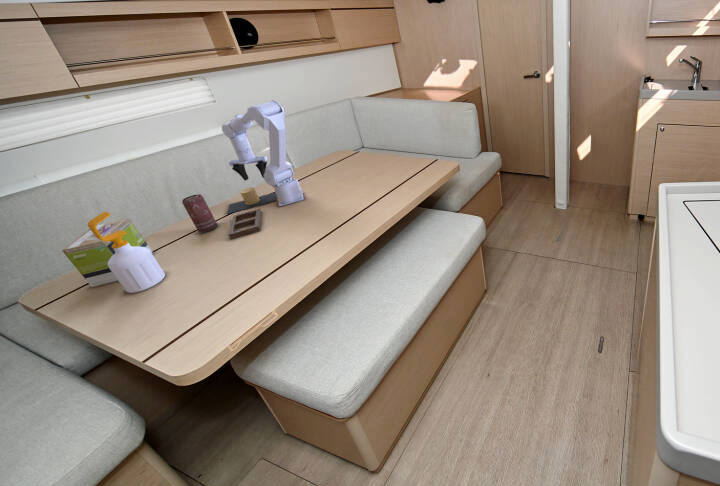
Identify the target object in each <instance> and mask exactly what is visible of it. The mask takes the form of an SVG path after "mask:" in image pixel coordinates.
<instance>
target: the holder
mask: <svg viewBox="0 0 720 486" xmlns="http://www.w3.org/2000/svg"><path fill="white" fill-rule="evenodd" d="M262 213H263V212H262V210H261V208H260V207H259V208H256V209H251V210H249V211H245V212H241V213H238V214H234V215H232V219H231V221H230V222H231V224H230V227H229V231H228V237H229V240H233V239H237V238H240V237H243V236H247V235H250V234H253V233H256V232H260V231H261V221H262ZM247 218H248V219H247ZM251 225H253V226H251ZM248 226H249V227H248ZM244 227H246V228H244ZM240 228H242V229H240ZM237 229H240V230H237Z"/></svg>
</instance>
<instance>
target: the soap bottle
mask: <svg viewBox="0 0 720 486" xmlns="http://www.w3.org/2000/svg"><path fill="white" fill-rule="evenodd" d="M110 216H112V213H110V212H107V211H103V212H101V213H100V214H98V215H96V216H95V217H93V218H92V219H90V220H89V221H88V222H87V227H88V228H89V229H90V230H91V231H92V232H93V234H94V235H95V237H96V238H98V239H100V240H102V241H105V242H108V241H110V242H114V243H115V244H114V245H112V247H113V249H114V251H115V254H114V255H113V256H112V257H111V258H110V259H109V261H108V267H109V268H110V270H111V271H112V272H113V274H114V275H115V277H116V278H117V279H118V281H117V282H119V283H120V285H121V286H122V288H123V289H124V291H125V292H126V293H130V294H133V293H134V294H135V293H138V292H142V291H145V290H147V289H150V288H152V287H155V286H156V285H157V284H159V283H160V282H161V281H163V280H164V278H165V276H166V273H165V271H164V269H163V268H162V266H160V264H159V262H158V260H156V258H155V256H154V255H153V253H151V252H150V250H149V249H148V248H146V247H139V246H135V247H132V246H130V244H129V243H128V241H127V240H124V241H122V239H121V238H123V235H125V234H127V232H125V231H123V230H120V231H117V232H115V233H112V234H110V235H108V236H105V237H102V236H101V235H100V233H99V232H98V230H97V229H96V226H97V225H99V224H100V223H102V222H103V221H104V220H106V219H107V218H109V217H110Z"/></svg>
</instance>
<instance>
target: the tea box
mask: <svg viewBox="0 0 720 486" xmlns="http://www.w3.org/2000/svg"><path fill="white" fill-rule="evenodd" d="M96 229H97V230H98V232H99V233H100V235H101V236H102V237H105V236H108V235H110V234H112V233H115V232H117V231H120V230H123V231H125V232H127V234H125V235H123V238H121V239H122V241H124V240H127V241H128V243H129V244H130V246H132V247H135V246H139V247H146V248H148V249H149V250H150V252H151V253H152V254H153V253H154V251H153V249H152V248H151V246H150V245H149V244H148V243H147V241H146V240H145V238H144V237H143V235H142V234H141V232H140V231H139V230H138V228H137V226H136V225H135V224H134V223H133V221H132V220H131V218H129V217H128V218H125V219H120V220H116V221H112V222H106V223H102V224H97V225H96ZM114 244H115V243H114V242H110V241H108V242H105V241H102V240H100V239H98V238H96V237H95V235H94V234H93V232H92V231H91V230H90V228H89V229H88V230H86V231H85V232H84V233H82V234H80V235H79V236H78V237H77V238H76V239H74V241H72V242H71V243H69V244H68V245H67V246H66V247H64V248H63V249H62V250H61V252H63V255H64V256H66V258H67V259H68V260H69V261H70V262H71V264H72V265H73V267H75V269H76V270H77V271H78V273H79V274H80V275H81V276H82V278H84V280H85V281H86V282H87V284H88V285H89V286H90V287H91V288H94V287H98V286H103V285H107V284H110V283H114V282H119V281H118V279H117V278H116V277H115V275H114V274H113V272H112V271H111V270H110V268H109V267H108V261H109V259H110V258H111V257H112V256H113V255H114V254H115V251H114V249H113V247H112V245H114Z"/></svg>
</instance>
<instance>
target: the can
mask: <svg viewBox="0 0 720 486" xmlns="http://www.w3.org/2000/svg"><path fill="white" fill-rule="evenodd" d="M181 201H182V202H181V203H182V205H183V207H184V209H185V211H186V213H187V215H188V216H189V218H190V220H191V221H192V223H193V225H194V227H195V228H196V230H197V232H198V233H200V234H206V233H209V232H212V231H214V230H215V229H217V228H218V222H217V221H216V219H215V217H214V215H213V213H212V210H210V208H209V206H208V204H207V202H206V200H205V198H204V197H203V195H202V194H200V193H197V194H193V195H190V196H187V197H185V198H183V199H182V200H181Z"/></svg>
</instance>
